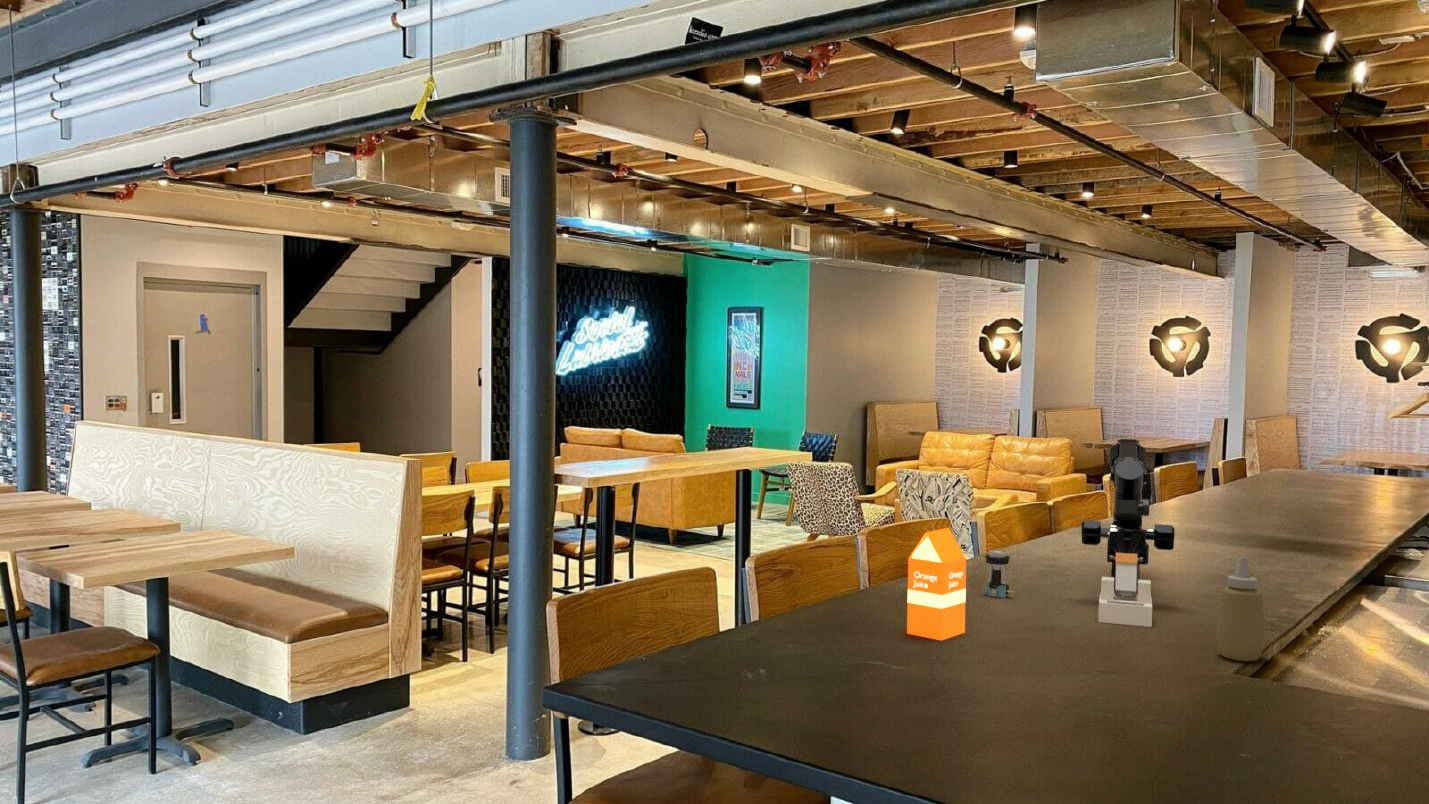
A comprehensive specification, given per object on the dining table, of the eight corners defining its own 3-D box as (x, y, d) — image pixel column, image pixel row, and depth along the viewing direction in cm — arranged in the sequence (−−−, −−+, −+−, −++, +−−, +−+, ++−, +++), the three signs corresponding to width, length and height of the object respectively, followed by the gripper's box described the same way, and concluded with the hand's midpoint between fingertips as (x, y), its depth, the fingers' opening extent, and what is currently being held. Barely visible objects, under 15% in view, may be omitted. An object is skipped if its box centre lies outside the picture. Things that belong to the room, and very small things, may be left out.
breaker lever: (1114, 598, 218) (1115, 557, 222) (1136, 600, 217) (1137, 558, 221) (1114, 593, 216) (1115, 552, 220) (1136, 595, 214) (1137, 554, 218)
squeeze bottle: (1261, 654, 190) (1264, 555, 190) (1269, 666, 182) (1272, 562, 182) (1212, 650, 193) (1215, 552, 192) (1218, 661, 185) (1220, 559, 185)
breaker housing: (1100, 611, 224) (1100, 573, 224) (1151, 615, 220) (1151, 577, 220) (1098, 622, 214) (1099, 582, 213) (1151, 627, 210) (1152, 587, 210)
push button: (1018, 596, 238) (1019, 552, 237) (1008, 600, 233) (1009, 555, 233) (991, 592, 242) (991, 549, 242) (980, 596, 238) (981, 551, 238)
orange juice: (965, 632, 204) (967, 529, 203) (941, 640, 197) (943, 534, 197) (930, 625, 209) (932, 525, 208) (905, 633, 203) (907, 529, 202)
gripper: (1082, 483, 232) (1079, 540, 222) (1175, 487, 225) (1175, 546, 215) (1083, 514, 239) (1080, 571, 229) (1173, 520, 232) (1173, 578, 222)
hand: (1126, 566), depth 224 cm, fingers closed
